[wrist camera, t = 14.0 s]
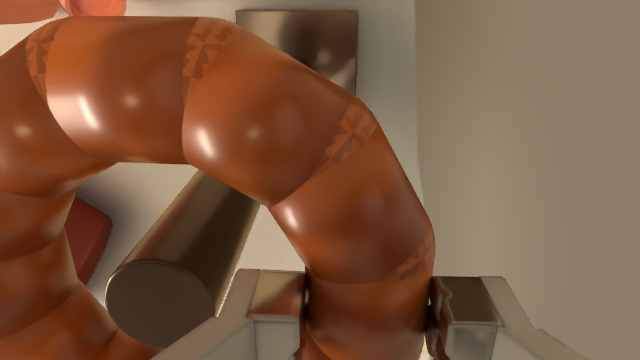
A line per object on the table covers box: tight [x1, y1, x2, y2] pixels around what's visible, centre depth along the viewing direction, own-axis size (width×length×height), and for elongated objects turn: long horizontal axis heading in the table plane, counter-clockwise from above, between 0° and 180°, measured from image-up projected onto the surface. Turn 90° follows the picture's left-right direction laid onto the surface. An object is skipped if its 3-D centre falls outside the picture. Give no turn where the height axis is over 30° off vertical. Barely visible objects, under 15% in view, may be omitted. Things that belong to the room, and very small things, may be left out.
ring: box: [0, 16, 435, 360], centre depth 10 cm, size 12×12×3 cm
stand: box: [105, 10, 358, 349], centre depth 24 cm, size 10×10×32 cm
